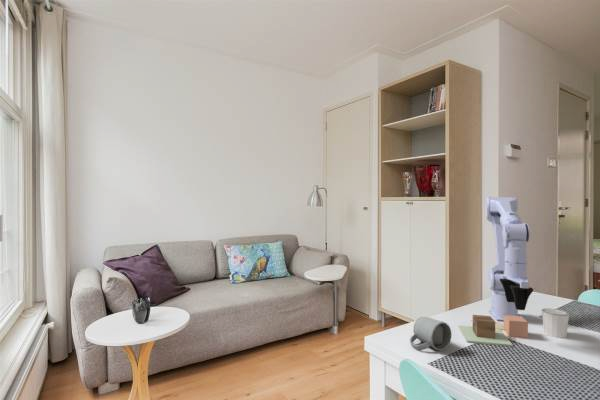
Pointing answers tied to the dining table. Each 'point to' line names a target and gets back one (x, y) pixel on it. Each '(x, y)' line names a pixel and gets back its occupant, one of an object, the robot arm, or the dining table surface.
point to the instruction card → (497, 325)
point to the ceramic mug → (431, 334)
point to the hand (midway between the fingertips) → (515, 305)
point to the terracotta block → (515, 326)
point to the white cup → (555, 322)
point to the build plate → (472, 338)
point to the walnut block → (483, 326)
